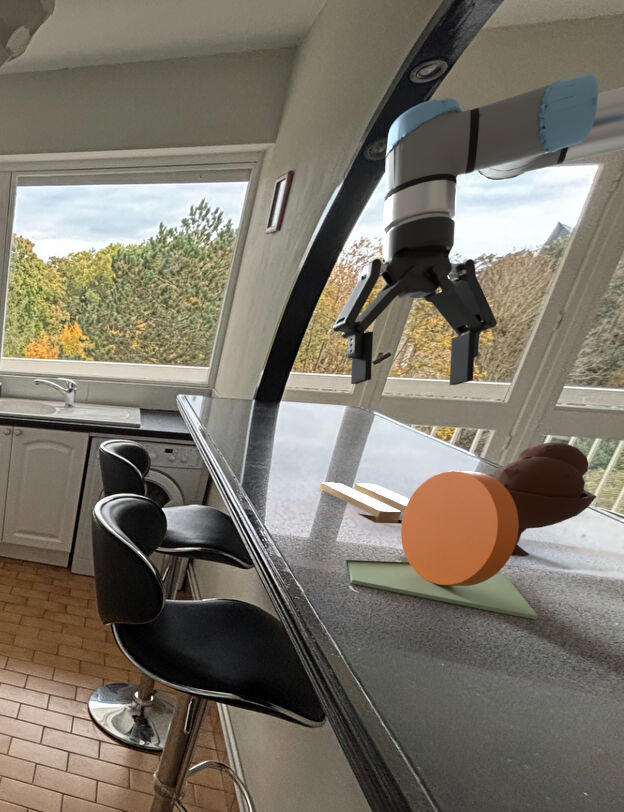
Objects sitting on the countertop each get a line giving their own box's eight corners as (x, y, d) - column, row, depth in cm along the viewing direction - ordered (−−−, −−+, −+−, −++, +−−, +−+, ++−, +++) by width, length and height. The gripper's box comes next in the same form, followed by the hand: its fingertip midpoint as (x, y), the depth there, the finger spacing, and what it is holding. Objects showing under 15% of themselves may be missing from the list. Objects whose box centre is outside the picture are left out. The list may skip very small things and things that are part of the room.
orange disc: (402, 549, 76) (447, 454, 69) (480, 608, 64) (543, 501, 58) (385, 549, 76) (429, 454, 69) (460, 608, 64) (521, 500, 58)
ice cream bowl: (451, 533, 85) (491, 430, 80) (562, 555, 78) (614, 444, 72) (443, 553, 78) (486, 441, 73) (563, 579, 71) (622, 458, 65)
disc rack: (370, 498, 100) (375, 484, 99) (437, 529, 87) (443, 513, 86) (315, 496, 101) (320, 482, 100) (373, 527, 87) (378, 510, 86)
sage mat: (503, 578, 71) (505, 574, 71) (536, 620, 62) (538, 616, 61) (343, 550, 79) (344, 546, 79) (351, 583, 69) (352, 579, 69)
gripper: (484, 240, 84) (477, 389, 85) (307, 240, 85) (302, 387, 86) (539, 213, 77) (531, 376, 78) (344, 213, 78) (338, 374, 78)
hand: (410, 382), depth 82 cm, fingers open, 13 cm apart
